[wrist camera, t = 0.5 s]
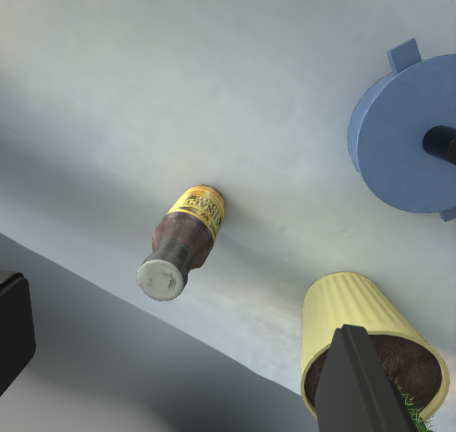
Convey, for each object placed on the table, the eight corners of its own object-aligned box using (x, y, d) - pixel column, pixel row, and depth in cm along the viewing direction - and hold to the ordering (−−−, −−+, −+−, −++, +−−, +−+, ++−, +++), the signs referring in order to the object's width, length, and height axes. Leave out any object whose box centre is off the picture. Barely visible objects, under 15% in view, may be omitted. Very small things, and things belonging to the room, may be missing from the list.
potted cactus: (418, 283, 47) (642, 568, 20) (360, 357, 53) (471, 659, 25) (320, 242, 46) (410, 482, 19) (272, 322, 52) (287, 597, 24)
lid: (381, 230, 39) (402, 256, 33) (331, 104, 35) (346, 109, 29) (530, 172, 35) (582, 189, 30) (496, 21, 31) (550, 7, 25)
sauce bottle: (236, 204, 45) (220, 287, 27) (205, 233, 47) (171, 329, 29) (200, 170, 44) (158, 234, 26) (170, 202, 46) (111, 282, 28)
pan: (377, 224, 45) (394, 245, 39) (320, 82, 39) (330, 82, 33) (495, 178, 41) (532, 193, 36) (452, 12, 35) (488, 0, 30)
